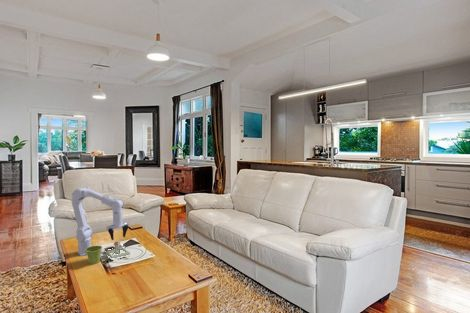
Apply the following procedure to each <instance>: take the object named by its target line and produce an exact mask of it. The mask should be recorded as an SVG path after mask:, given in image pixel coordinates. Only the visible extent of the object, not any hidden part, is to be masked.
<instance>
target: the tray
mask: <svg viewBox="0 0 470 313" xmlns="http://www.w3.org/2000/svg"><path fill="white" fill-rule="evenodd" d="M120 250H123V251H125V253H121V254H118V255H114V256H113V255H112V254H110V253H113V252H115V249H114V250H110V251H106V254H107V255H108V256H110V257H111V258H117V257H121V256H126V255H130V254H131V252H130V250H128V249H127V248H126V249H125V248H124V247H121V248H120ZM130 256H131V255H130Z"/></svg>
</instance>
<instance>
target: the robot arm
mask: <svg viewBox="0 0 470 313" xmlns="http://www.w3.org/2000/svg"><path fill="white" fill-rule="evenodd" d="M88 197H89V198H93V199H95V200H99V201H101V203H102V204H103V205H105V206H108V207H110V208H111V209H112V219H113V220H112V224H111V225H108V226H105V230H106V231H107V232H108V234H109V235H110V239H111V241H114V229H118V228H122V237H123V238H126V234H127V231H128V230H129V226H130V222H129V221H128V222H123V206H124V201H123V200H122V199H119V198H118V199H117V198H114V197H111V196H110V194H107V195H103V194H101V193H99V192H97V191H95V190H93V189H91V188H89V187H87V186H84V187H80V188H77V189H75V190H74V191H73V192H72V193H71V204H72V205H71V206H72V209H73V213H74V216H75V217H74V218H75V220H76V224H77V228H76V232H75V233H76V241H78V242H77V246H78V248H77V249H78V250H77V251H76V253H77V254H79V256H80V257H83V256H86V255H87V253H86V251H85V250H86V249H87V248H89V247H92V236H93V235H94V234H93V233H94V231H93V229H92V228H91V225H89V224H88V223H87V219H86V215H85V211H84V207H83V203H82V202H83V201H84V199H85V198H88ZM87 256H88V255H87Z"/></svg>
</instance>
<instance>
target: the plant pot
mask: <svg viewBox="0 0 470 313" xmlns="http://www.w3.org/2000/svg"><path fill="white" fill-rule="evenodd" d="M102 249H103V246H102V245H91V247H89V248H87V249H86V250H85V251H86V253H87V260H88V264H90V265H94V264H98V263H100V262H101V255H102Z"/></svg>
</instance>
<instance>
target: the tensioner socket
mask: <svg viewBox="0 0 470 313" xmlns="http://www.w3.org/2000/svg"><path fill="white" fill-rule="evenodd" d="M112 248H113V249H112ZM108 249H111V250H114V249H115V246H114V245H113V246H112V245H111V246H107V247H104V249H103V250H104V252H105V251H110V250H108Z"/></svg>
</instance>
